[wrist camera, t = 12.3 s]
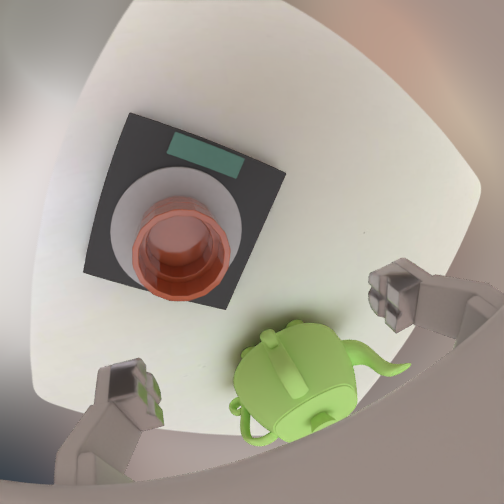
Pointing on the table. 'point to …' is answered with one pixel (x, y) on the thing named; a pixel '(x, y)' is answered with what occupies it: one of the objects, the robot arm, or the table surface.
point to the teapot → (300, 381)
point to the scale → (183, 185)
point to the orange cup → (180, 249)
